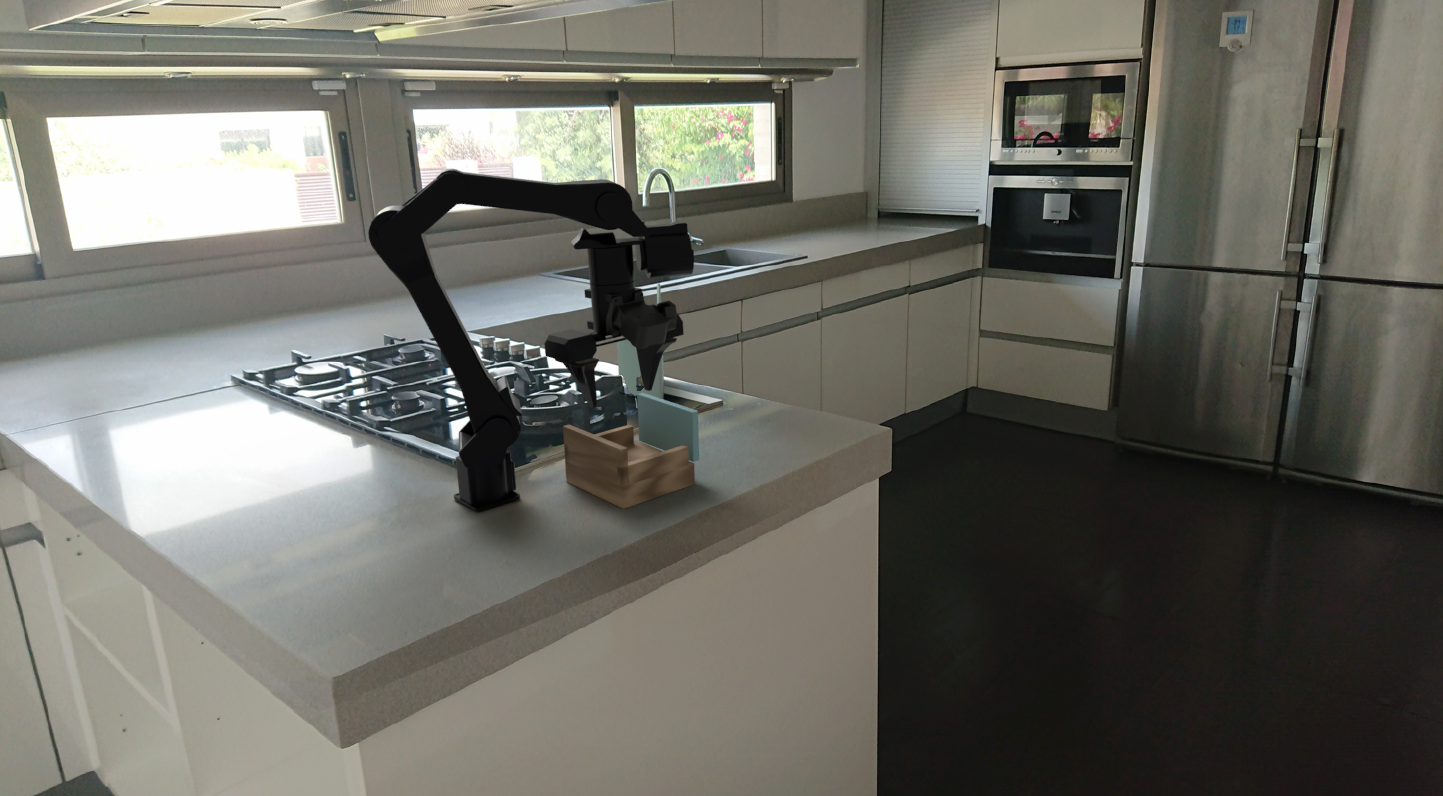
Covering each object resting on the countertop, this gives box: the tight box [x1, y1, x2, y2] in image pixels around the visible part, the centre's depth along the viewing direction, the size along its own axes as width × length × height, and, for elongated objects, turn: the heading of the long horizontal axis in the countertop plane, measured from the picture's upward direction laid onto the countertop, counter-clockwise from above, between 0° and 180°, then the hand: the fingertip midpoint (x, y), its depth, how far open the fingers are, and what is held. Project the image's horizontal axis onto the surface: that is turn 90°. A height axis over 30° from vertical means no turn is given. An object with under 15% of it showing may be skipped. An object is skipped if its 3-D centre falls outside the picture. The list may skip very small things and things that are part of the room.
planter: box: [616, 282, 665, 400], centre depth 168 cm, size 16×8×20 cm, turn 3°
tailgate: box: [636, 393, 700, 463], centre depth 132 cm, size 2×12×7 cm, turn 42°
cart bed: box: [562, 424, 696, 510], centre depth 128 cm, size 12×13×8 cm
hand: (621, 398), depth 126 cm, fingers open, 9 cm apart
